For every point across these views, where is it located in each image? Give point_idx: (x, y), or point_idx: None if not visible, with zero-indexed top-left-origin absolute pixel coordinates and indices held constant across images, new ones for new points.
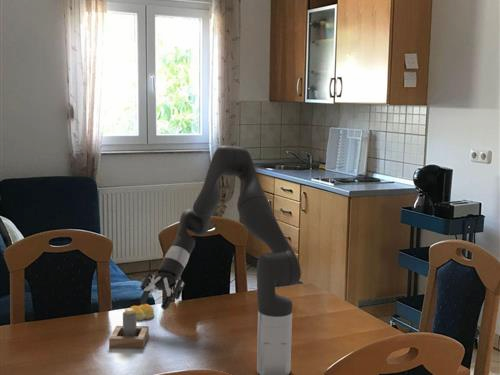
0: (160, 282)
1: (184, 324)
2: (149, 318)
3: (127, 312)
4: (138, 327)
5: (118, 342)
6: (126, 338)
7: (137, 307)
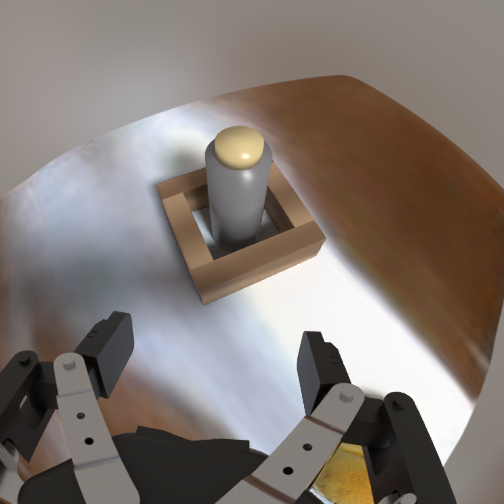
0: (207, 490)
1: None
2: None
3: (235, 130)
4: (233, 262)
5: None
6: None
7: None
